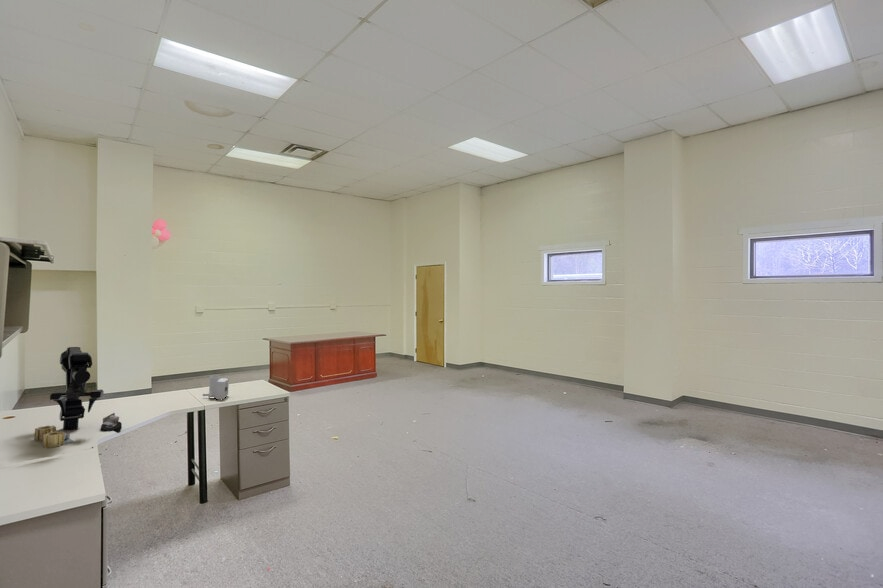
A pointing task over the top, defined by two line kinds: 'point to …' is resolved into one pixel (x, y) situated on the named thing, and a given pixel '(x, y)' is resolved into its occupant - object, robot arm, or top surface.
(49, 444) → the planet gear
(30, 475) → the top surface
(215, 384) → the grey block housing
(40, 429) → the seated gear
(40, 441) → the plate
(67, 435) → the sun gear
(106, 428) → the caster wheel
